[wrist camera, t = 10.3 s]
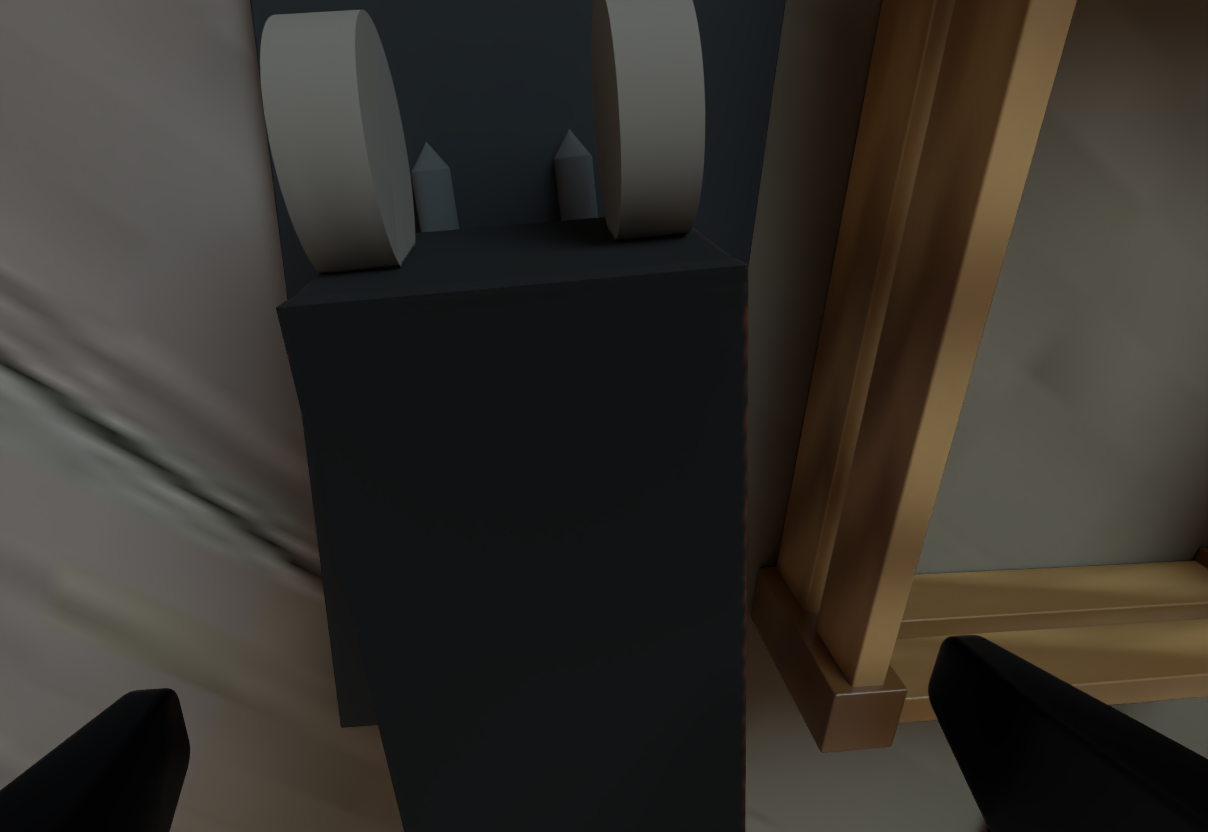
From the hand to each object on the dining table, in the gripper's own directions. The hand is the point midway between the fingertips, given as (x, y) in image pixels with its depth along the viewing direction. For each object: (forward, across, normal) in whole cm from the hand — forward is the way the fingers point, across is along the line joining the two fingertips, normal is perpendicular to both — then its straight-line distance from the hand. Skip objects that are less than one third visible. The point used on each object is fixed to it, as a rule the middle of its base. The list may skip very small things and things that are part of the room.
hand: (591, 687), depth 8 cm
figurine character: (+9, 0, 0) cm, 9 cm away
